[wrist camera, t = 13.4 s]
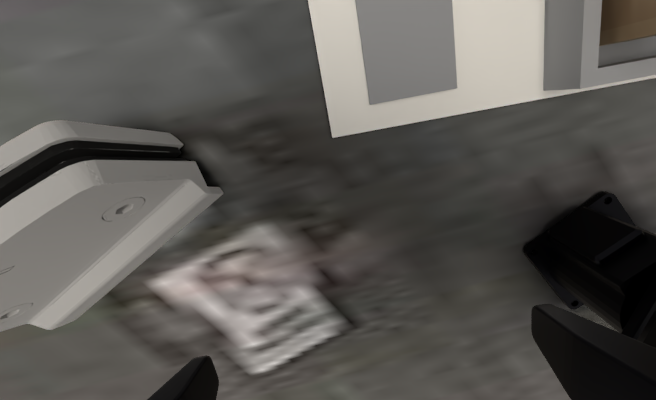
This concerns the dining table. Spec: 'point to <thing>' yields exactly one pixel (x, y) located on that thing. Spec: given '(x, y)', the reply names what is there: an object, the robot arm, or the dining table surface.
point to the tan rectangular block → (627, 20)
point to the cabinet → (461, 57)
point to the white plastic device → (86, 214)
